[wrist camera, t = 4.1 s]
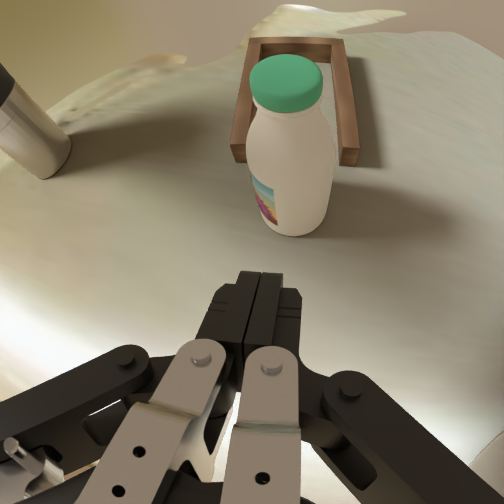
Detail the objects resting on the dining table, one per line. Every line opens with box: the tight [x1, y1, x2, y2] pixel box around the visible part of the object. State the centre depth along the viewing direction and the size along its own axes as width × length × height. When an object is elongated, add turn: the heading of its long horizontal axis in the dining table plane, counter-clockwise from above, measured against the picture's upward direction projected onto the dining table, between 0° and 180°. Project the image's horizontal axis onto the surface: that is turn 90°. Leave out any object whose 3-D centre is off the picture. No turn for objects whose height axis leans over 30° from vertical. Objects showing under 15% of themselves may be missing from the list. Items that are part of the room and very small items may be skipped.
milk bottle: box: [246, 54, 336, 236], centre depth 26 cm, size 8×8×20 cm
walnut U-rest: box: [230, 37, 360, 167], centre depth 38 cm, size 15×23×4 cm, turn 174°
